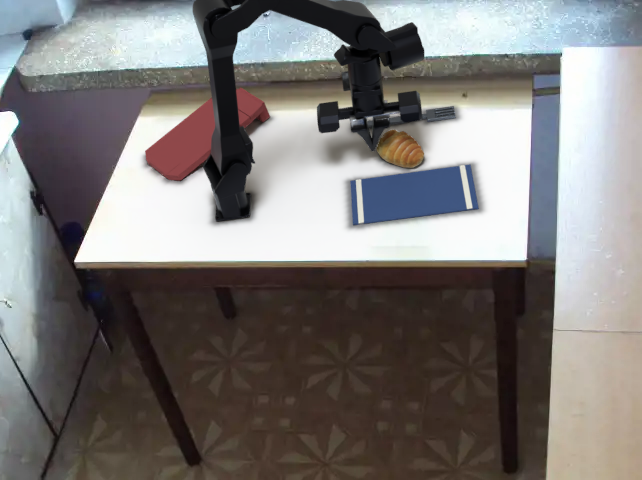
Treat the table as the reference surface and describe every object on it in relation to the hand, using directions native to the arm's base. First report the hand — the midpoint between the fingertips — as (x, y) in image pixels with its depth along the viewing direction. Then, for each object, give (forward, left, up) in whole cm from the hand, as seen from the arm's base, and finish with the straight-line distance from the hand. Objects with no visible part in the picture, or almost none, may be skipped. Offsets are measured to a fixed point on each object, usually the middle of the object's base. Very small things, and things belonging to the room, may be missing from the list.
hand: (373, 149), depth 177 cm
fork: (+10, -6, -2) cm, 12 cm away
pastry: (-1, -5, -2) cm, 5 cm away
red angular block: (+12, +33, -2) cm, 35 cm away
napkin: (-13, -6, -2) cm, 14 cm away
